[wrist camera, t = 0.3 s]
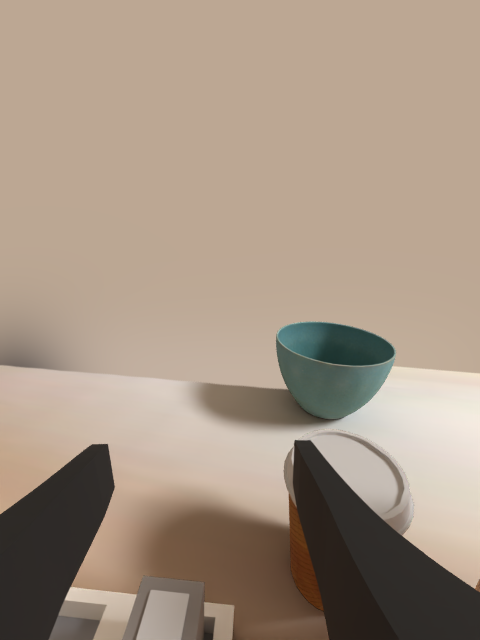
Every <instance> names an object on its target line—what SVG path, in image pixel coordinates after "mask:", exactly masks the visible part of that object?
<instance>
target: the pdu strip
mask: <svg viewBox="0 0 480 640" xmlns="http://www.w3.org/2000/svg"><path fill="white" fill-rule="evenodd" d="M136 596H137V594H128V593H119V592H110V591H101V590H93V589H84V588H75V587H70V589H69V591H68V594H67V596H66V598H65V600H64V602H63V605H62V607H61V610H60V612H59V615H58V617H57V620H56V622H55V625H54V627H53V630H52V633H51V635H50V638H49V640H122V639H123V636H124V632H125V629H126V626H127V623H128V620H129V617H130V614H131V611H132V608H133V605H134V602H135V599H136ZM233 620H234V605H226V604H218V603H209V602H204V640H232V635H233Z"/></svg>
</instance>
